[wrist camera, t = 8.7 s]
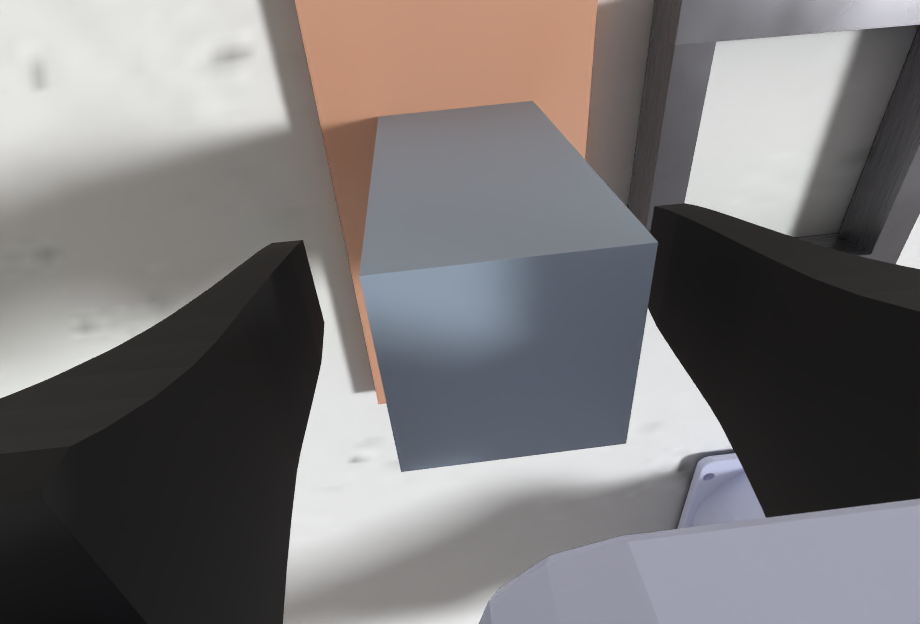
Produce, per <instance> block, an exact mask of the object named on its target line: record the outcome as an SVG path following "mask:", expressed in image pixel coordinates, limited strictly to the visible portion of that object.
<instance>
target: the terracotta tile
mask: <svg viewBox="0 0 920 624" xmlns="http://www.w3.org/2000/svg"><path fill="white" fill-rule="evenodd" d="M597 1H598V0H295V5H296V10H297V15H298V19H299V24H300V29H301V34H302V39H303V43H304V48H305V53H306V58H307V63H308V67H309V72H310V77H311V82H312V87H313V92H314V96H315V101H316V106H317V111H318V116H319V120H320V125H321V130H322V135H323V140H324V144H325V149H326V154H327V159H328V164H329V168H330V173H331V178H332V183H333V188H334V193H335V197H336V202H337V207H338V212H339V217H340V221H341V226H342V231H343V236H344V241H345V245H346V250H347V255H348V260H349V265H350V269H351V274H352V279H353V284H354V289H355V294H356V298H357V303H358V308H359V313H360V318H361V322H362V327H363V332H364V337H365V342H366V346H367V351H368V356H369V361H370V366H371V370H372V375H373V380H374V385H375V390H376V395H377V399H378V404H385V403H386V399H385V394H384V389H383V385H382V380H381V375H380V371H379V366H378V362H377V357H376V352H375V348H374V343H373V338H372V334H371V329H370V324H369V320H368V315H367V311H366V306H365V301H364V297H363V292H362V287H361V283H360V278H359V273H360V264H361V256H362V248H363V240H364V231H365V223H366V215H367V207H368V198H369V190H370V182H371V174H372V166H373V157H374V149H375V141H376V133H377V124H378V117H379V116H388V115H398V114H408V113H418V112H428V111H437V110H447V109H457V108H467V107H477V106H486V105H496V104H506V103H516V102H525V101H534V103H535V104H536V105H537V106H538V107H539V108H540V109H541V111H542V112H543V113H544V114H545V115H546V116H547V117H548V118H549V120H550V121H551V122H552V123H553V124H554V125H555V126H556V127H557V129H558V130H559V131H560V132H561V133H562V134H563V135H564V136H565V138H566V139H567V140H568V141H569V142H570V143H571V144H572V146H573V147H574V148H575V149H576V150H577V151H578V152H579V153H580V155H581V156H582V157H583V158H584V159H585V155H586V142H587V129H588V116H589V104H590V91H591V78H592V65H593V52H594V39H595V27H596V14H597Z"/></svg>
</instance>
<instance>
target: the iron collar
mask: <svg viewBox="0 0 920 624" xmlns="http://www.w3.org/2000/svg"><path fill="white" fill-rule="evenodd" d="M908 25H920V0H655V6H654V13H653V21H652V28H651V36H650V43H649V51H648V58H647V66H646V74H645V81H644V89H643V96H642V104H641V111H640V119H639V126H638V134H637V142H636V149H635V157H634V164H633V172H632V179H631V187H630V194H629V202H628V209H629V210H630V211H631V212H632V213H633V214H634V216H635V217H636V218H637V219H638V220H639V221H640V222H641V223H642V225H643V226H644V227H645V228H646V229H647V230H648V231H649V233H650V230H651V224H652V217H653V211H654V206H661V205H671V204H682V203H684V201H685V196H686V191H687V186H688V181H689V176H690V171H691V166H692V161H693V156H694V151H695V146H696V141H697V136H698V131H699V126H700V120H701V115H702V110H703V105H704V100H705V95H706V90H707V85H708V80H709V75H710V70H711V65H712V60H713V55H714V50H715V45H716V41H728V40H740V39H752V38H764V37H776V36H788V35H800V34H812V33H824V32H836V31H848V30H860V29H872V28H884V27H896V26H908ZM919 214H920V26H919V29H918V32H917V34H916V37H915V39H914V42H913V44H912V47H911V49H910V52H909V55H908V57H907V60H906V62H905V65H904V67H903V70H902V72H901V75H900V78H899V80H898V83H897V85H896V88H895V90H894V93H893V95H892V98H891V101H890V103H889V106H888V108H887V111H886V113H885V116H884V118H883V121H882V124H881V126H880V129H879V131H878V134H877V136H876V139H875V141H874V144H873V147H872V149H871V152H870V154H869V157H868V159H867V162H866V164H865V167H864V170H863V172H862V175H861V177H860V180H859V182H858V185H857V187H856V190H855V192H854V195H853V198H852V200H851V203H850V205H849V208H848V210H847V213H846V215H845V218H844V221H843V223H842V226H841V228H840V231H839V233H836V234H826V235H816V236H807V237H797V239H800V240H804V241H807V242H810V243H814V244H817V245H821V246H824V247H827V248H831V249H834V250H838V251H841V252H845V253H849V254H853V255H857V256H861V257H865V258H869V259H874V260H878V261H883V262H887V263H891V264H896V262H897V260H898V258H899V256H900V253H901V251H902V249H903V247H904V245H905V243H906V241H907V239H908V237H909V235H910V233H911V230H912V228H913V226H914V224H915V222H916V220H917V218H918V216H919Z"/></svg>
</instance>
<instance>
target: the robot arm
mask: <svg viewBox="0 0 920 624" xmlns="http://www.w3.org/2000/svg"><path fill="white" fill-rule="evenodd" d="M650 234H651V235H652V236H653V237H654V238H655V239H656V240H657V242H658V246H657V253H656V259H655V265H654V271H653V278H652V284H651V290H650V296H649V303H648V309H649V311H650V313H651V315H652V317H653V319H654V321H655V323H656V326H657V327H658V329H659V331H660V332H661V334H662V335H663V337H664V338H665V340H666V341H667V343H668V344H669V346H670V348H671V349H672V351H673V352H674V354H675V355H676V357H677V358H678V360H679V361H680V363H681V364H682V366H683V367H684V369H685V370H686V371H687V373H688V374H689V376H690V377H691V379H692V380H693V382H694V383H695V385H696V386H697V388H698V389H699V391H700V392H701V394H702V395H703V397H704V398H705V400H706V401H707V403H708V404H709V406H710V407H711V409H712V411H713V412H714V414H715V416H716V417H717V419H718V421H719V422H720V424H721V426H722V428H723V430H724V432H725V434H726V436H727V438H728V440H729V442H730V444H731V446H732V447H733V449H734V451H735V453H732V454H723V455H715V456H708V457H704V458H702V459H701V460H700V461H699V462H698V464H697V466H696V469H695V472H694V476H693V479H692V482H691V486H690V489H689V492H688V495H687V499H686V502H685V505H684V508H683V512H682V515H681V518H680V522H679V525H678V528H677V529H672V530H664V531H656V532H648V533H640V534H632V535H624V536H618V537H615V538H611V539H607V540H604V541H600V542H596V543H593V544H589V545H585V546H582V547H578V548H574V549H571V550H567V551H563V552H560V553H556V554H552V555H549V556H548V557H546V558H545V559H543V560H542V561H540V562H539V563H537V564H536V565H534V566H533V567H531V568H529V569H528V570H526V571H525V572H523V573H522V574H520V575H519V576H517V577H516V578H514V579H513V580H511V581H510V582H508V583H507V584H505V585H504V586H502V587H501V588H499V590H498V591H497V592H496V593H495V594H494V596H493V597H492V598H491V599H490V600H489V602H488V604H487V606H486V609H485V611H484V613H483V615H482V618H481V620H480V622H479V624H920V269H915V268H910V267H905V266H900V265H896V264H891V263H887V262H883V261H878V260H874V259H869V258H865V257H861V256H857V255H853V254H849V253H845V252H841V251H838V250H834V249H831V248H827V247H824V246H821V245H817V244H814V243H810V242H807V241H804V240H800V239H797V238H794V237H791V236H788V235H785V234H782V233H779V232H776V231H773V230H770V229H767V228H764V227H761V226H758V225H755V224H752V223H749V222H746V221H744V220H741V219H738V218H735V217H732V216H729V215H726V214H723V213H720V212H717V211H713V210H710V209H707V208H703V207H699V206H695V205H690V204H684V203H682V204H671V205H661V206H654V211H653V217H652V224H651V230H650ZM323 335H324V320H323V316H322V312H321V308H320V305H319V301H318V297H317V293H316V289H315V285H314V281H313V277H312V274H311V270H310V266H309V262H308V258H307V254H306V250H305V246H304V243H303V240H300V241H289V242H279V243H272V244H270V245H268V246H266V247H265V248H263V249H262V250H260V251H259V252H257V253H256V254H255V255H253V256H252V257H251V258H249V259H248V260H247V261H245V262H244V263H243V264H241V265H240V266H239V267H237V268H236V269H235V270H233V271H232V272H231V273H229V274H228V275H227V276H226V277H224V278H223V279H222V280H220V281H219V282H218V283H216V284H215V285H214V286H212V287H211V288H210V289H208V290H207V291H205V292H204V293H202V294H201V295H199V296H198V297H197V298H195V299H194V300H192V301H191V302H189V303H188V304H186V305H185V306H184V307H182V308H181V309H179V310H178V311H176V312H175V313H173V314H172V315H170V316H169V317H167V318H166V319H164V320H163V321H161V322H159V323H158V324H156V325H154V326H153V327H151V328H149V329H148V330H146V331H144V332H142V333H141V334H139V335H137V336H135V337H133V338H132V339H130V340H128V341H126V342H124V343H123V344H121V345H119V346H117V347H115V348H113V349H111V350H109V351H107V352H105V353H103V354H101V355H99V356H97V357H95V358H92V359H90V360H88V361H86V362H84V363H82V364H80V365H78V366H76V367H73V368H71V369H69V370H67V371H65V372H63V373H61V374H59V375H57V376H54V377H52V378H50V379H48V380H45V381H43V382H40V383H38V384H36V385H33V386H31V387H28V388H26V389H23V390H21V391H18V392H16V393H14V394H11V395H8V396H6V397H3V398H1V399H0V624H283V612H284V599H285V585H286V571H287V560H288V549H289V539H290V528H291V518H292V509H293V500H294V492H295V483H296V474H297V468H298V463H299V457H300V452H301V448H302V444H303V439H304V435H305V431H306V427H307V422H308V418H309V414H310V410H311V405H312V401H313V397H314V393H315V388H316V384H317V380H318V375H319V371H320V366H321V360H322V349H323Z"/></svg>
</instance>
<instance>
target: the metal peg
mask: <svg viewBox="0 0 920 624" xmlns="http://www.w3.org/2000/svg"><path fill="white" fill-rule="evenodd" d="M657 246H658V242H657V240H656V239H655V238H654V237H653V236H652V235H651V234H650V233H649V231H648V230H647V229H646V228H645V227H644V226H643V225H642V223H641V222H640V221H639V220H638V219H637V218H636V217H635V216H634V214H633V213H632V212H631V211H630V210H629V209H628V208H627V207H626V205H625V204H624V203H623V202H622V201H621V200H620V199H619V198H618V196H617V195H616V194H615V193H614V192H613V191H612V190H611V188H610V187H609V186H608V185H607V184H606V183H605V182H604V181H603V179H602V178H601V177H600V176H599V175H598V174H597V173H596V172H595V170H594V169H593V168H592V167H591V166H590V165H589V164H588V162H587V161H586V160H585V159H584V158H583V157H582V156H581V155H580V153H579V152H578V151H577V150H576V149H575V148H574V147H573V146H572V144H571V143H570V142H569V141H568V140H567V139H566V138H565V136H564V135H563V134H562V133H561V132H560V131H559V130H558V129H557V127H556V126H555V125H554V124H553V123H552V122H551V121H550V120H549V118H548V117H547V116H546V115H545V114H544V113H543V112H542V111H541V109H540V108H539V107H538V106H537V105H536V104H535V103H534V101H525V102H516V103H506V104H496V105H486V106H477V107H467V108H457V109H447V110H437V111H428V112H418V113H408V114H398V115H388V116H379V117H378V124H377V133H376V141H375V149H374V157H373V166H372V174H371V182H370V190H369V198H368V207H367V215H366V223H365V231H364V240H363V248H362V256H361V264H360V273H359V278H360V283H361V287H362V292H363V297H364V301H365V306H366V311H367V315H368V320H369V324H370V329H371V334H372V338H373V343H374V348H375V352H376V357H377V362H378V366H379V371H380V375H381V380H382V385H383V389H384V394H385V399H386V403H387V408H388V413H389V417H390V422H391V426H392V431H393V436H394V440H395V445H396V450H397V454H398V459H399V464H400V468H401V472H404V471H412V470H420V469H428V468H436V467H444V466H452V465H460V464H468V463H475V462H483V461H491V460H499V459H507V458H515V457H523V456H531V455H539V454H546V453H554V452H562V451H570V450H578V449H586V448H594V447H602V446H610V445H617V444H625V443H626V440H627V434H628V428H629V421H630V415H631V409H632V403H633V396H634V390H635V384H636V378H637V371H638V365H639V359H640V353H641V346H642V340H643V334H644V328H645V321H646V315H647V309H648V303H649V296H650V290H651V284H652V278H653V271H654V265H655V259H656V253H657Z"/></svg>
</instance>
